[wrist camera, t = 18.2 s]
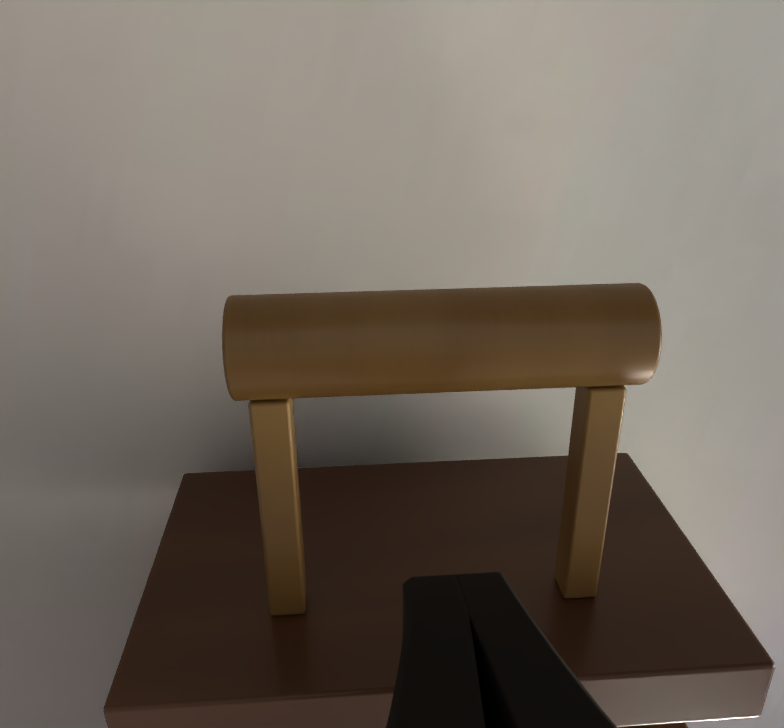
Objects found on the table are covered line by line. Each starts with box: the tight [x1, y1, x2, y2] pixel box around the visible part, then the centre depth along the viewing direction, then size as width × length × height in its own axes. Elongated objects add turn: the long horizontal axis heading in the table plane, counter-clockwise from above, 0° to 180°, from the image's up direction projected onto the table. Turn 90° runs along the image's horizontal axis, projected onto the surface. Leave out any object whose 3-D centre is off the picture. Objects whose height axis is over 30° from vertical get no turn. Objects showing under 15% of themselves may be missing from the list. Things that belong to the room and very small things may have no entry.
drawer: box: [103, 283, 775, 728], centre depth 15 cm, size 18×10×6 cm, turn 0°
